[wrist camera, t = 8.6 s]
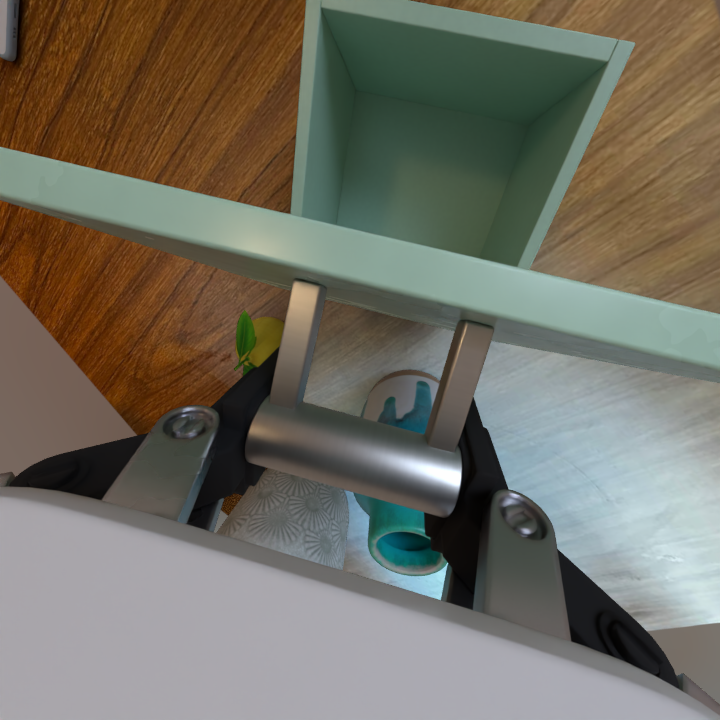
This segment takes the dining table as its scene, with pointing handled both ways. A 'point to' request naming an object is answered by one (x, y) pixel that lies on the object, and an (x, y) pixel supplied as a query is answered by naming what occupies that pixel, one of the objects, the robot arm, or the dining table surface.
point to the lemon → (256, 340)
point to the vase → (387, 520)
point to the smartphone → (8, 29)
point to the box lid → (379, 294)
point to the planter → (292, 518)
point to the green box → (444, 123)
